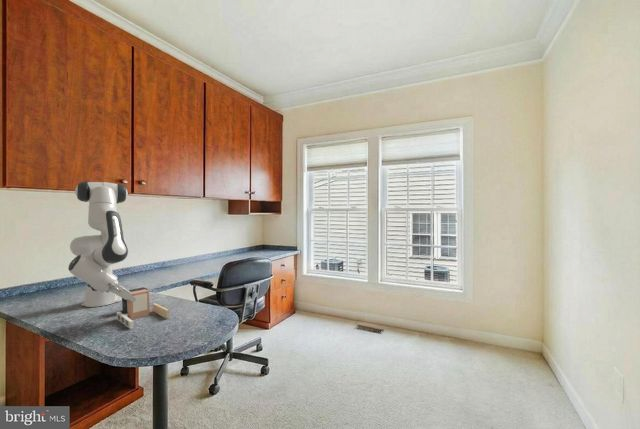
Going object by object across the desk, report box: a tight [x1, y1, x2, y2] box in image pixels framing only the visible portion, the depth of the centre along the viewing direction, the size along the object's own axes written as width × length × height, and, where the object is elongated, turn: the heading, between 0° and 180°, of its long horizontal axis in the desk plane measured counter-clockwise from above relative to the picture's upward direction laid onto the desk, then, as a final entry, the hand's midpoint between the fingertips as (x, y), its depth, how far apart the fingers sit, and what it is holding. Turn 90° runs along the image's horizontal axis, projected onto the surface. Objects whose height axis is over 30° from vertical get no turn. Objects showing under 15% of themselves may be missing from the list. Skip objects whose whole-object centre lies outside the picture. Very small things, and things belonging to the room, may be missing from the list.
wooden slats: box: [116, 302, 170, 330], centre depth 138 cm, size 20×16×4 cm
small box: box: [121, 286, 149, 314], centre depth 152 cm, size 11×6×10 cm, turn 141°
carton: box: [127, 289, 151, 320], centre depth 142 cm, size 5×8×12 cm, turn 139°
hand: (131, 298), depth 140 cm, fingers open, 8 cm apart
